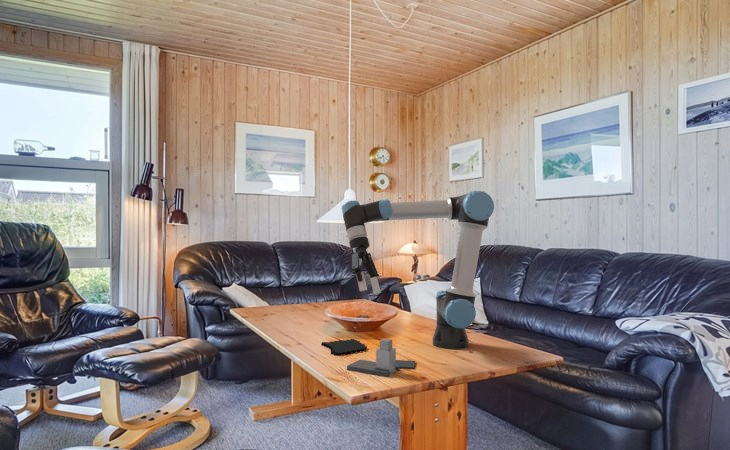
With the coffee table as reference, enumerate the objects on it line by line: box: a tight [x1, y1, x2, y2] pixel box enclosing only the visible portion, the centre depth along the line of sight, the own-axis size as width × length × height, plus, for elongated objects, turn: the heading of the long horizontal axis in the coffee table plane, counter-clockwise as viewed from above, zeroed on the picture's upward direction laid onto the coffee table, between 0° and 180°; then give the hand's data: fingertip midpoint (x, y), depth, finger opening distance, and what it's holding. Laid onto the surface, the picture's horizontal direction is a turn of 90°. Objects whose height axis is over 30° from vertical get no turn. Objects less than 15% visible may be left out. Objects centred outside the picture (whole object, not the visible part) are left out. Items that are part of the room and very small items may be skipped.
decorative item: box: [321, 338, 368, 357], centre depth 187 cm, size 23×2×20 cm
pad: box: [396, 359, 416, 370], centre depth 162 cm, size 8×8×1 cm
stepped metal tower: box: [375, 338, 397, 376], centre depth 155 cm, size 5×5×11 cm
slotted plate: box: [346, 359, 401, 378], centre depth 157 cm, size 16×9×1 cm, turn 60°
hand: (370, 292), depth 169 cm, fingers open, 13 cm apart
